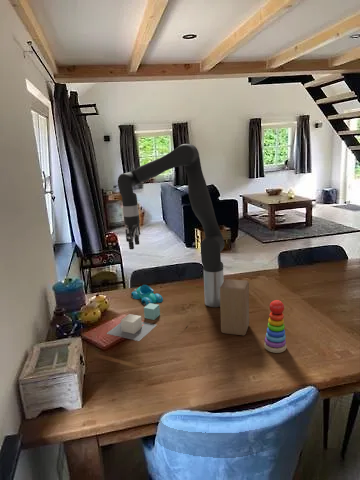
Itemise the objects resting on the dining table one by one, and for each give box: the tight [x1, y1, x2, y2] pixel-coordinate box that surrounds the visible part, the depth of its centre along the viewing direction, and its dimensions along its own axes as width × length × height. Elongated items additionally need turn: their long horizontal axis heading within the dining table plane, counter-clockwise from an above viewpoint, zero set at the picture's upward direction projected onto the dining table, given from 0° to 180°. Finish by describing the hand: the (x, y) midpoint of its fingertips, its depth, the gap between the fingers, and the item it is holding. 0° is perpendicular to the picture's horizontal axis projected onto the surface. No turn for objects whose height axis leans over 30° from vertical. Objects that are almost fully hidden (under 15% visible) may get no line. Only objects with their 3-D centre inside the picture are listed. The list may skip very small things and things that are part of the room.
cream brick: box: [120, 313, 143, 334], centre depth 151 cm, size 6×6×5 cm
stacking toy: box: [263, 299, 287, 354], centre depth 132 cm, size 8×8×19 cm
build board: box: [106, 321, 158, 342], centre depth 152 cm, size 16×14×1 cm
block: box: [219, 278, 250, 336], centre depth 147 cm, size 10×10×20 cm
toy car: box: [130, 284, 164, 306], centre depth 183 cm, size 11×18×7 cm, turn 35°
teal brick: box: [143, 303, 161, 321], centre depth 162 cm, size 5×5×6 cm
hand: (134, 246), depth 181 cm, fingers open, 8 cm apart
